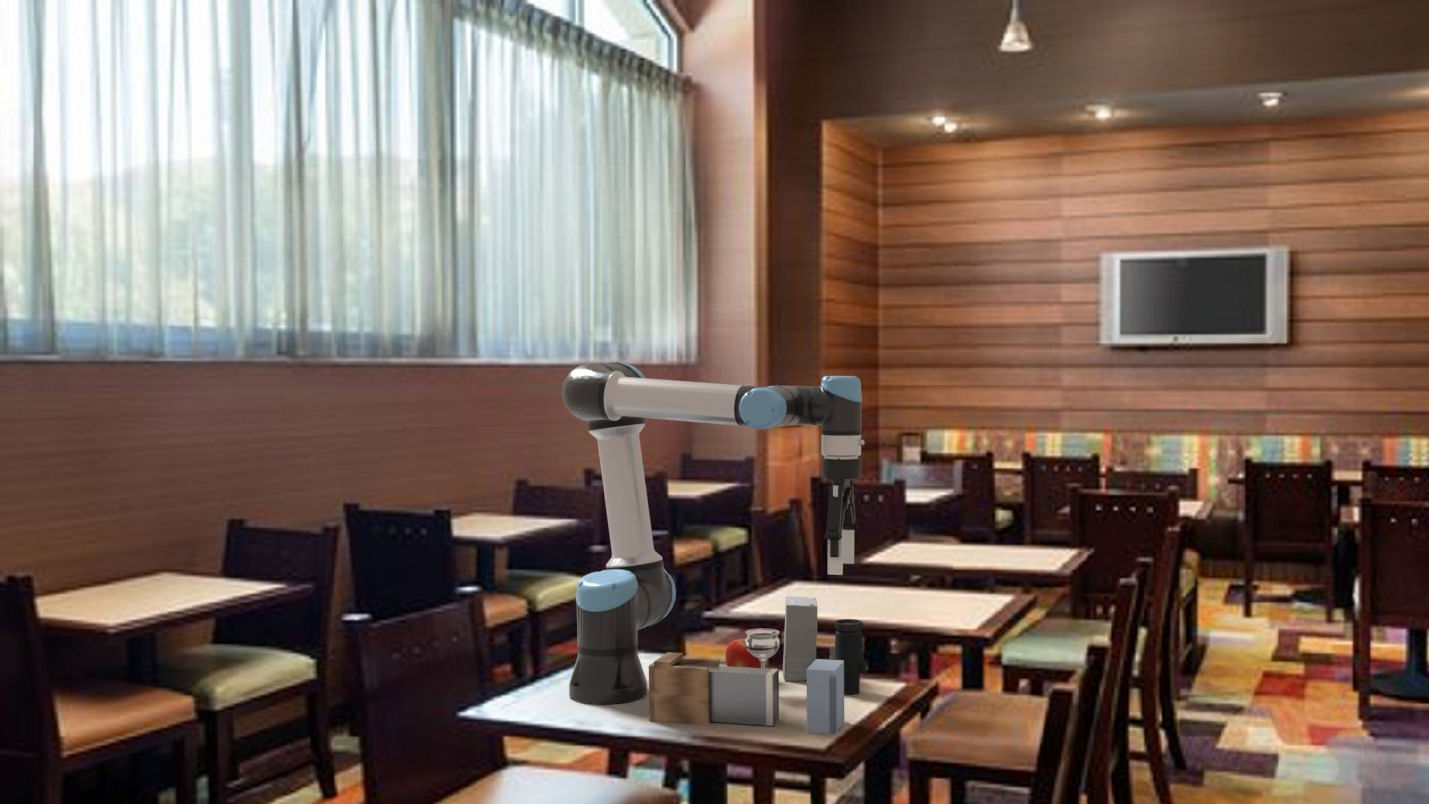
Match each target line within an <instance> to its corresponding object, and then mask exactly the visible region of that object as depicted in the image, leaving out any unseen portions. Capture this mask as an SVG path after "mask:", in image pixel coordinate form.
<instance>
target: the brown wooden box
mask: <svg viewBox="0 0 1429 804" xmlns="http://www.w3.org/2000/svg"><path fill="white" fill-rule="evenodd" d="M720 662H721V661H720V659H718V658H717V659H715V658H703V657H702V658H700V657H684V653H683V652H671V651H670V652H669V651H668V652H666V653H664V654H663V655H662V656H660V657H658V658H656V660H654V661H653V662H652V663H651V664H649V665H648V700H649V701H648V707H649V708H648V709H649V710H648V715H649V716H648V717H649V718H648V719H649V720H648V721H649V722H660V723H673V724H688V725H689V724H691V725H703V726H704V725H705V726H708V725H710V723H711V721H710V715H709V668H704V667H687V666H672V665H673V664H675V663H677V664H694V665H712V666H721V665H720V664H721V663H720Z"/></svg>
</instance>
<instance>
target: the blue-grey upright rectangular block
mask: <svg viewBox="0 0 1429 804" xmlns="http://www.w3.org/2000/svg"><path fill="white" fill-rule="evenodd" d="M806 678H807V681H806V733H810V732H814V733H813V734H826V735H827V734H828V735H836V734H837V733H838V731H839V730H840V729H839V728H841V727H842V725H843V724H844V723H845V695H844V661H843V660H826V658H825V659H824V658H823V659H821V658H819V659H818V658H816V660H815V661H814V662H813V663H812V664H811V665H810V666H809V667H808V668H807V669H806ZM838 729H839V730H838ZM836 732H837V733H836Z"/></svg>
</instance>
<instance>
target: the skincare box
mask: <svg viewBox="0 0 1429 804" xmlns="http://www.w3.org/2000/svg"><path fill="white" fill-rule="evenodd" d="M817 603H818V601H817V598H816V597H808V596H785V607H784V609H785V610H784V611H785V615H784V633H783V634H784V638H783V658H782V659H783V662H782V663H783V664H782V677H783V680H784V681H785V682H787V681H789V682H792V681H793V682H800V681H799V680H807V678H806V669H807V668H808V667H809V666H810V665H811V664H812V663H813V662H814V661H815V660H816V659H817V641H818V640H817V639H818V604H817Z"/></svg>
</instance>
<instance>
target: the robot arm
mask: <svg viewBox="0 0 1429 804" xmlns="http://www.w3.org/2000/svg"><path fill="white" fill-rule="evenodd" d="M562 385H563V386H562V388H561V389H562V390H561V393H562V400H563V403H564V406H565V407H566V410H567V411H568V412H569V413H570V414H571V415H572V416H574V417H575V418H577V419H579V420H581V421H584V422H587V428H588V433H589V434H590V435H591V436H592V437H594V438H595V439H596V441H597V446H598V447H597V449H598V455H599V462H600V469H601V470H600V472H601V478H602V486H603V492H604V501H605V510H606V518H607V524H608V533H609V540H610V548H611V558H610V559H609V560H608V562H607V563H606V564H605V568H606V569H603V570H601V571H593V572H590V573H587V574H585V575H584V576H582V577H581V578H580V579H579V581H578V583H577V586H576V587H577V589H576V595H575V603H576V623H577V625H576V627H577V628H576V629H577V630H576V631H577V632H576V633H577V658H576V660H575V665H574V667H573V671H572V674H571V676H570V681H569V685H568V687H569V688H568V690H569V691H568V695H569V697H570V698H571V699H572V700H574V701H577V702H579V703H580V702H581V703H587V704H588V703H589V704H599V705H600V704H602V705H603V704H605V705H606V704H618V703H619V704H620V703H627V702H632V701H637V700H639V699H642V698H644V697H646V695H647V694H648V680H647V677H646V674H645V672H644V669H643V665H642V663H641V660H640V657H639V650H638V646H639V645H638V644H639V643H638V631H640V630H642V629H644V628H646V627H652V626H654V625H655V624H658V623H659V622H660V621H662V620H663V619H664V618H666V617H667V616H668V615H669V614H670V612H671V611H672V609H673V607H674V604H675V602H676V595H677V589H676V584H675V582H674V579H673V578H672V576H671V574H669V573H668V572H667V570H666V569H665V567H664V566H665V565H664V560H663V556H662V555H660V554H659V553H658V552H656V550H655V547H654V539H653V533H652V526H651V525H652V524H651V517H650V509H649V508H650V507H649V502H648V493H647V486H646V478H645V471H644V464H643V463H644V462H643V456H642V454H643V453H642V449H641V448H642V447H641V440H640V433H641V432H642V430H643V429H644V428H645V426H646V421H645V419H652V420H653V419H654V420H655V419H656V420H657V419H658V420H668V421H680V422H692V423H702V424H703V423H704V424H705V423H706V424H716V425H726V426H727V425H728V426H730V425H731V426H738V427H739V426H740V427H749V428H752V429H755V430H761V431H762V430H771V429H773V428H780V427H781V428H782V427H788V426H821V439H820V440H821V443H820V444H821V455H822V456H824V457H823V458H822V459H821V477H822V478H824V479H827V480H828V479H829V480H831V479H832V484H831V485H829V487H828V503H827V504H828V505H827V516H826V529H825V533H824V534H823V538H822V539H823V540H827V575H836V576H842V575H844V573H843V572H844V571H843V570H844V564H851V565H854V564H855V530H859V523H857V519H856V508H855V507H856V506H855V496H854V493H855V492H854V484H855V482H854V480H857V479H860V478H861V477H862V460H861V458H859V456H861V455H862V446H864V445H865V440H864V439H861V438H862V409H863V407H862V406H863V405H862V404H863V398H862V383H861V380H860V378H859V377H858V376H855V375H824V376H823V377H822V378H821V383H820V385H814V386H811V385H810V386H808V385H807V386H805V385H769V386H755V385H753V386H752V385H739V384H738V385H737V384H726V383H714V382H701V381H700V382H699V381H698V382H697V381H686V380H685V381H684V380H672V379H658V378H657V379H656V378H646V376H645V375H644V374H643V373H642V372H641V371H640V370H639V369H638V368H636V367H635V366H632V365H631V364H627V363H623V362H618V361H617V362H602V363H601V362H598V363H597V362H590V363H584V364H581V365H579V366H577V367H575V368H574V369H572V370H571V371H570V372H569V373H568V375H567V376H566V378H565V379H564V382H563V384H562Z"/></svg>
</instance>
